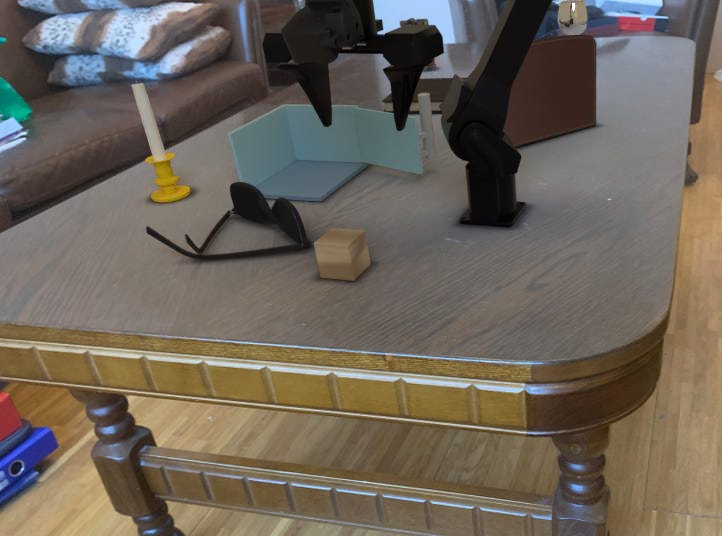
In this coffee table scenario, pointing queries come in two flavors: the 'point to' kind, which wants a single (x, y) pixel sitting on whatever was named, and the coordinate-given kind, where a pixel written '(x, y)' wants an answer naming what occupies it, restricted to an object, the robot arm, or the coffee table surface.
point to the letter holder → (553, 90)
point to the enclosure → (297, 152)
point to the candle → (158, 152)
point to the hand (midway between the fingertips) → (363, 128)
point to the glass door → (396, 138)
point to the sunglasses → (253, 208)
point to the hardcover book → (433, 86)
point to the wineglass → (572, 17)
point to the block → (342, 254)
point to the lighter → (419, 22)
